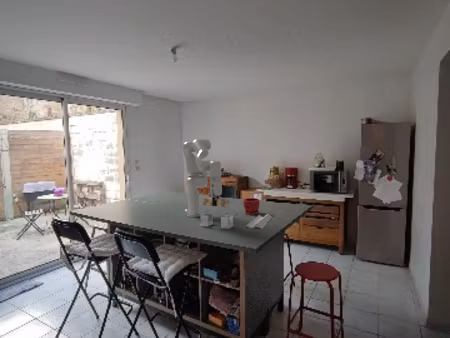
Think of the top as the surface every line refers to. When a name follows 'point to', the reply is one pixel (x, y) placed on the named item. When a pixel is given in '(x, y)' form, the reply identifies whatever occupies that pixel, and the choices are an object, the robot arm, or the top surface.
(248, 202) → the plant pot
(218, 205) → the beige wooden bar
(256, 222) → the crown molding
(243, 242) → the top surface
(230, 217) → the cup brackets
